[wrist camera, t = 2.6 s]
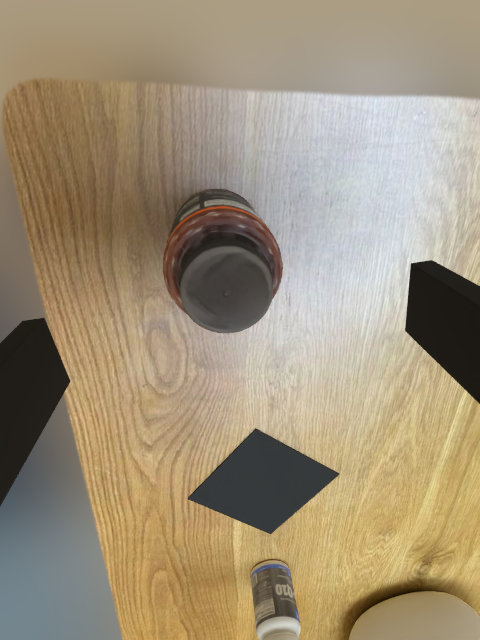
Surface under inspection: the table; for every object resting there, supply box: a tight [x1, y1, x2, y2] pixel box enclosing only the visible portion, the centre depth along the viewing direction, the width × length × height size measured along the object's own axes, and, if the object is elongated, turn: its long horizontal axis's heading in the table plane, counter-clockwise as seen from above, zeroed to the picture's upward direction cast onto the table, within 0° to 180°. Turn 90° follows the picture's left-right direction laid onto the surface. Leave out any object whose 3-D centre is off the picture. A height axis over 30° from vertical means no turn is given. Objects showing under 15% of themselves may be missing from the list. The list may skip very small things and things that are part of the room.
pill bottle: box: [251, 560, 301, 640], centre depth 40 cm, size 5×5×8 cm
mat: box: [188, 429, 339, 534], centre depth 37 cm, size 11×11×1 cm
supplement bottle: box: [163, 189, 283, 333], centre depth 21 cm, size 6×6×11 cm
